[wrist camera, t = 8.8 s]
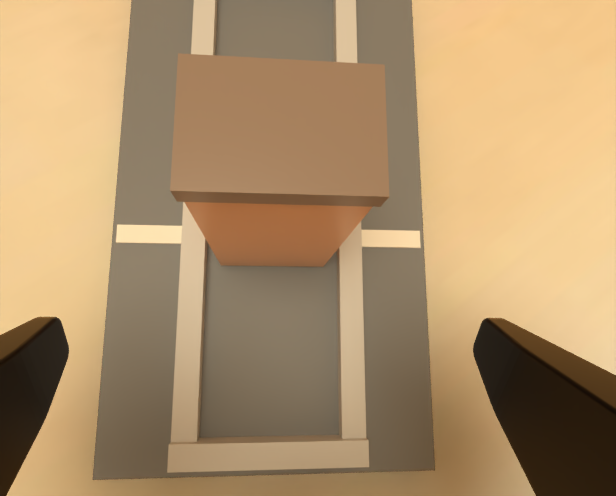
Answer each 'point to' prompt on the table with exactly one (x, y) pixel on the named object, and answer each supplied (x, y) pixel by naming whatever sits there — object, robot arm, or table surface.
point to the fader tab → (278, 154)
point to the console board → (262, 279)
